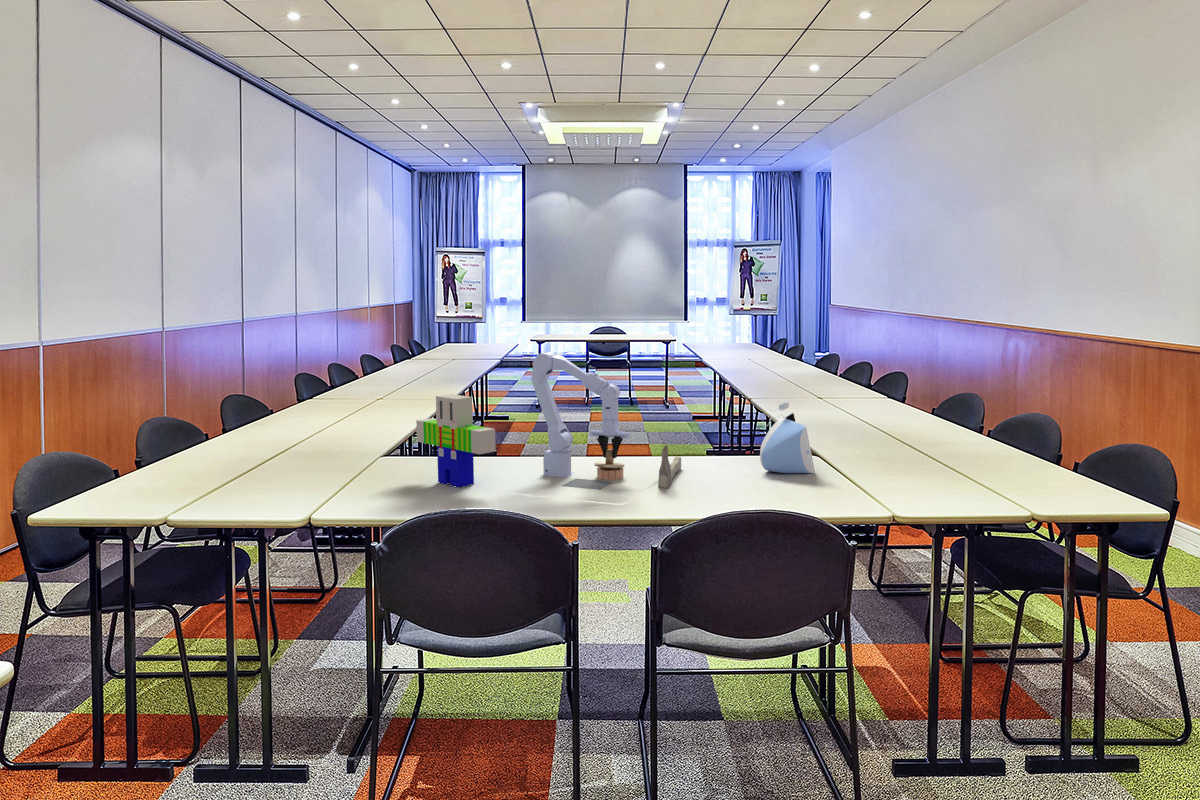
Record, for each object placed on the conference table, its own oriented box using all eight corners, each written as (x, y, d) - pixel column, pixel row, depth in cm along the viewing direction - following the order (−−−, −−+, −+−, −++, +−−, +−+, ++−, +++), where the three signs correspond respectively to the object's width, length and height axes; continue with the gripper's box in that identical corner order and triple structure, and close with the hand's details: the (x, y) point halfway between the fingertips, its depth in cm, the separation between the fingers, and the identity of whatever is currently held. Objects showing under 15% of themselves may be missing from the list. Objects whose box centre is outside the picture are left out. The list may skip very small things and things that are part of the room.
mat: (561, 487, 302) (561, 485, 302) (575, 480, 313) (575, 478, 313) (600, 491, 297) (600, 489, 297) (613, 483, 308) (613, 481, 307)
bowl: (593, 479, 313) (593, 469, 313) (603, 474, 321) (603, 464, 321) (617, 482, 310) (617, 471, 309) (626, 476, 318) (626, 466, 317)
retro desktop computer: (789, 397, 336) (823, 402, 322) (800, 454, 342) (834, 461, 328) (740, 423, 323) (773, 429, 309) (753, 481, 330) (786, 490, 316)
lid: (589, 466, 311) (590, 449, 311) (601, 463, 321) (602, 447, 321) (617, 468, 307) (618, 451, 307) (628, 466, 317) (629, 449, 317)
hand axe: (666, 490, 298) (667, 449, 296) (656, 490, 299) (657, 448, 297) (682, 472, 332) (683, 435, 331) (673, 471, 333) (674, 434, 331)
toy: (418, 477, 317) (415, 393, 313) (433, 474, 322) (431, 391, 318) (480, 493, 294) (478, 402, 290) (496, 489, 299) (494, 400, 295)
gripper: (586, 419, 312) (586, 458, 314) (625, 421, 306) (625, 461, 308) (594, 416, 318) (594, 454, 320) (632, 418, 313) (632, 457, 315)
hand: (610, 457), depth 314 cm, fingers closed on lid, 3 cm apart
